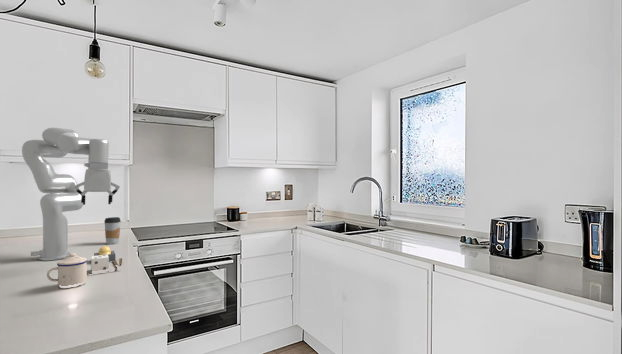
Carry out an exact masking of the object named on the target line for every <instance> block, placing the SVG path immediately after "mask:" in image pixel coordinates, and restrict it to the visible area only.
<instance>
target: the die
mask: <svg viewBox="0 0 622 354" xmlns="http://www.w3.org/2000/svg"><path fill="white" fill-rule="evenodd" d="M90 257H91V258H90V264H91V265H90V271H91V270H92V271H98V270H106V269H109V270H110V262H109V256H108V254H107V255H98V256H94V255H93V256H90Z"/></svg>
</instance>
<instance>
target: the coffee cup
mask: <svg viewBox="0 0 622 354" xmlns="http://www.w3.org/2000/svg"><path fill="white" fill-rule="evenodd" d="M103 223H104V231H105V233H104V235H105V243H106V245H117V244H119V242H120V233H121V218H120V217H118V216H117V217H115V216H113V217H105V219H104V222H103Z"/></svg>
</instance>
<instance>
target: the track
mask: <svg viewBox="0 0 622 354" xmlns="http://www.w3.org/2000/svg"><path fill="white" fill-rule="evenodd" d="M113 262H114V263H113ZM113 262H112V263H113V265H114V264H115V265H118V266H119V264H122V265H123V258H122V257H120V258H119V259H118V261H117V260H116V259H115V261H113ZM115 265H114V266H115Z"/></svg>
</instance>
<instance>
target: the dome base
mask: <svg viewBox="0 0 622 354" xmlns="http://www.w3.org/2000/svg"><path fill="white" fill-rule="evenodd" d="M93 256H98V252H94V253H93ZM108 256H109V261H115V260H116V253H115V250H111V254H108Z"/></svg>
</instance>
